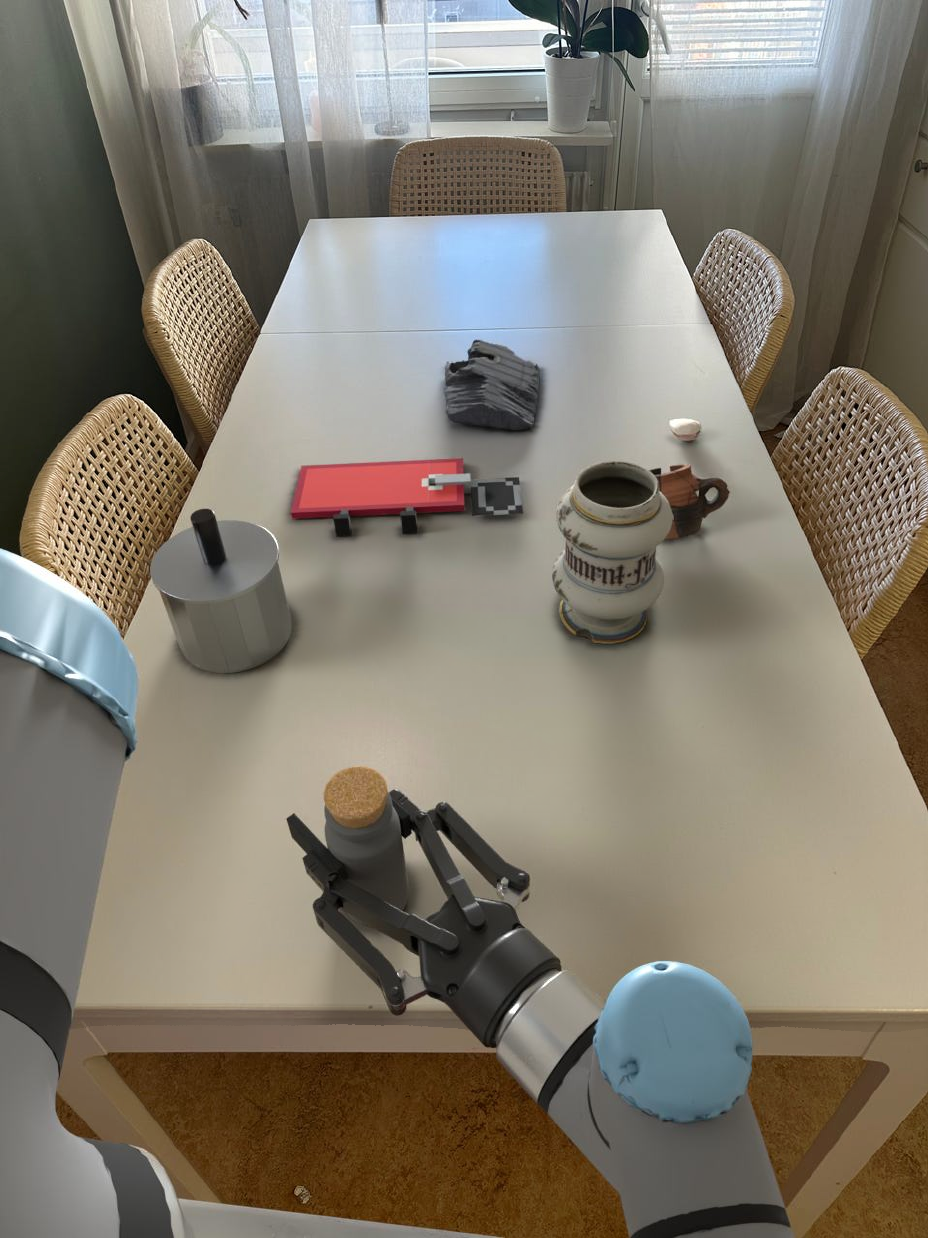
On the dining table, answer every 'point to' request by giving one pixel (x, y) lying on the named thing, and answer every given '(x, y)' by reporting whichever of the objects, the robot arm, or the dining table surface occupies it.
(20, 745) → the robot arm
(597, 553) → the apothecary jar
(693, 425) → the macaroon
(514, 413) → the dark slate chunk
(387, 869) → the bottle
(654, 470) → the pottery mug
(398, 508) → the red board with handle
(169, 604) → the pot
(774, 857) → the dining table surface
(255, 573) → the pot lid
